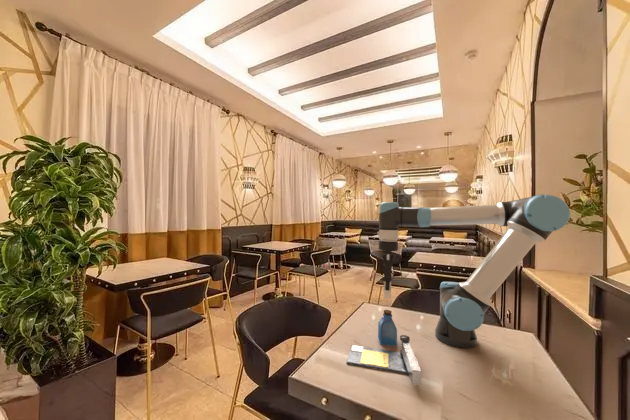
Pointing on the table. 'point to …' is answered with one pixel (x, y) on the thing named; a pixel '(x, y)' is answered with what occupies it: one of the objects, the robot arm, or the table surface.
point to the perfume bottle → (387, 329)
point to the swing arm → (410, 360)
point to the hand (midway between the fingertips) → (387, 293)
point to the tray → (377, 359)
